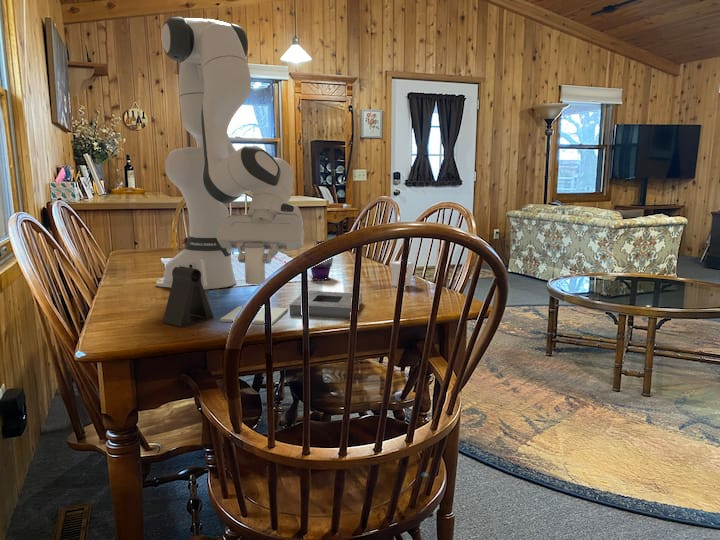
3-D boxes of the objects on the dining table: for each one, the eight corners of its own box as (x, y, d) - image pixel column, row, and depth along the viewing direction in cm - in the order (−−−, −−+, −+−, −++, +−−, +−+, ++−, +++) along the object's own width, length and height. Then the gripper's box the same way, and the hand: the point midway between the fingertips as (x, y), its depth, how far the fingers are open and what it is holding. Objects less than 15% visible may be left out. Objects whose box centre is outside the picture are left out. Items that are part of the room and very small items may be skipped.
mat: (220, 321, 117) (220, 318, 117) (240, 307, 129) (240, 305, 129) (272, 324, 116) (272, 322, 115) (287, 310, 127) (287, 308, 127)
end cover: (242, 283, 119) (241, 244, 117) (249, 280, 123) (248, 241, 121) (261, 284, 118) (260, 244, 116) (267, 280, 122) (266, 242, 121)
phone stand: (180, 328, 112) (178, 272, 110) (162, 323, 115) (159, 269, 113) (213, 318, 119) (211, 266, 117) (195, 314, 123) (193, 263, 120)
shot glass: (411, 288, 155) (412, 264, 154) (388, 286, 156) (389, 263, 155) (414, 283, 161) (414, 261, 160) (391, 282, 163) (392, 259, 161)
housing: (289, 314, 124) (289, 304, 123) (305, 299, 138) (305, 290, 138) (352, 318, 122) (353, 308, 121) (362, 303, 136) (362, 293, 136)
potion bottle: (314, 274, 173) (314, 237, 171) (338, 276, 170) (339, 239, 167) (302, 278, 165) (302, 240, 163) (327, 281, 162) (327, 242, 160)
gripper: (221, 205, 126) (205, 252, 118) (305, 207, 123) (294, 254, 115) (229, 222, 131) (214, 268, 123) (309, 224, 128) (299, 271, 120)
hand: (253, 261), depth 119 cm, fingers closed on end cover, 4 cm apart
